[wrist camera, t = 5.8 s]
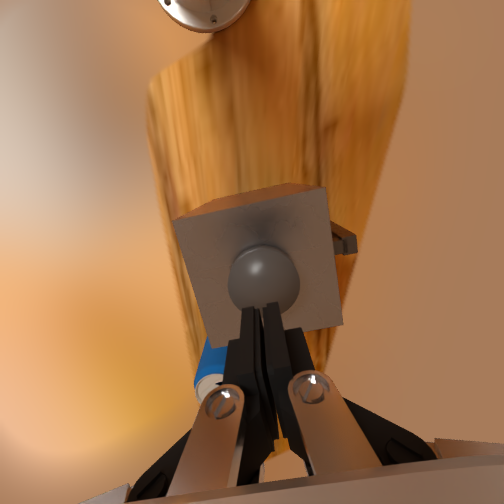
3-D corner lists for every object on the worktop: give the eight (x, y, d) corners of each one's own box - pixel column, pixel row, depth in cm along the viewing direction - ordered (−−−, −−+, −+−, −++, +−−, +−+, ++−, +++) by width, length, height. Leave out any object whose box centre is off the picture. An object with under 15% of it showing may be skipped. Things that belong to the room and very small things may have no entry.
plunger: (220, 205, 35) (182, 237, 16) (284, 191, 34) (319, 207, 16) (235, 265, 37) (217, 351, 19) (294, 253, 37) (336, 329, 18)
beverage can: (253, 341, 43) (252, 401, 31) (220, 356, 44) (208, 420, 32) (234, 312, 41) (227, 364, 30) (201, 328, 42) (181, 384, 31)
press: (213, 199, 36) (171, 220, 18) (308, 178, 35) (366, 178, 17) (231, 269, 39) (211, 348, 21) (318, 251, 38) (378, 318, 20)
